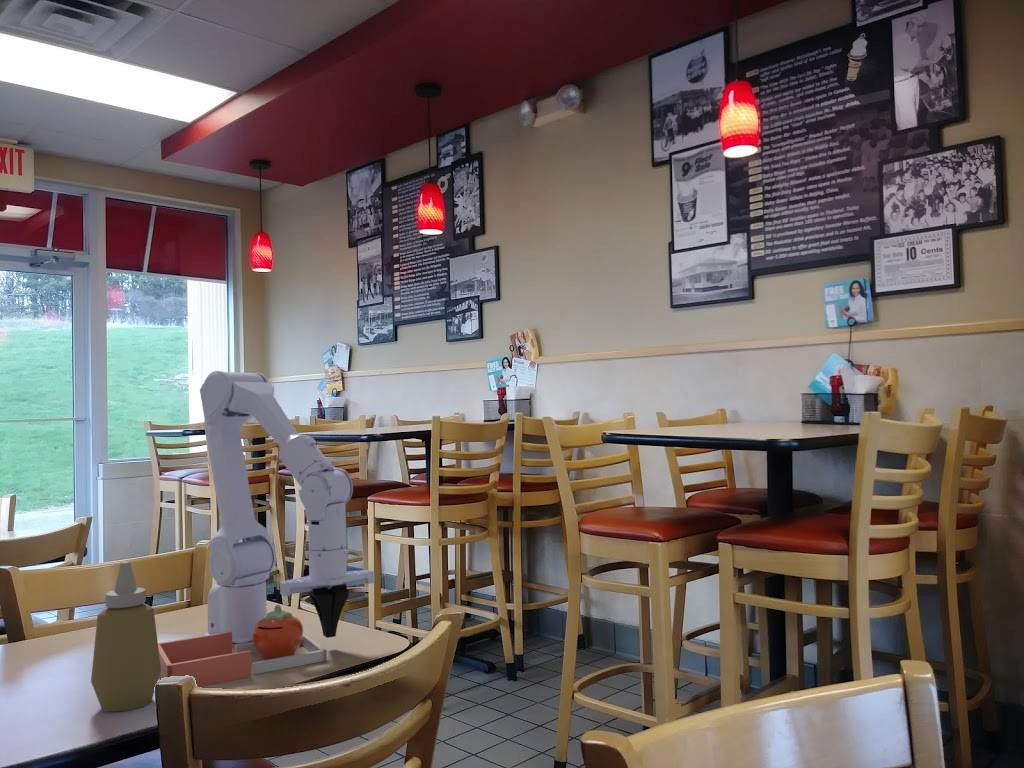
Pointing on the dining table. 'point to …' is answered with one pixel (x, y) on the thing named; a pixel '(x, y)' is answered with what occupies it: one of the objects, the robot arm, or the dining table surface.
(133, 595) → the squeeze bottle
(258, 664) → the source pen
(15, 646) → the dining table surface
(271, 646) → the tomato
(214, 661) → the bin
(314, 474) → the robot arm
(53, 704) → the dining table surface
